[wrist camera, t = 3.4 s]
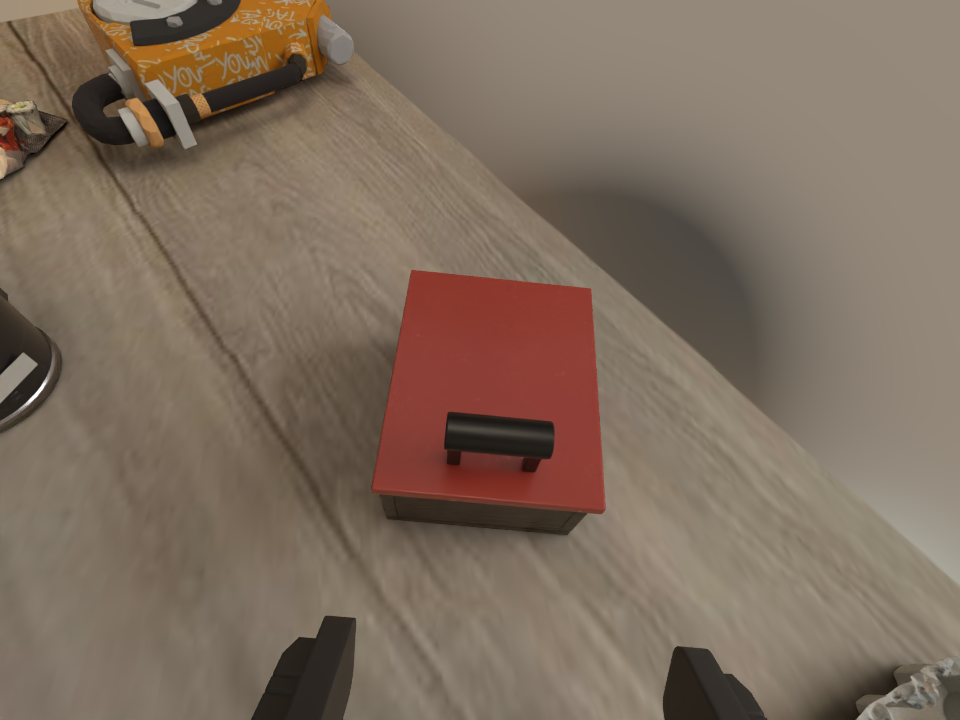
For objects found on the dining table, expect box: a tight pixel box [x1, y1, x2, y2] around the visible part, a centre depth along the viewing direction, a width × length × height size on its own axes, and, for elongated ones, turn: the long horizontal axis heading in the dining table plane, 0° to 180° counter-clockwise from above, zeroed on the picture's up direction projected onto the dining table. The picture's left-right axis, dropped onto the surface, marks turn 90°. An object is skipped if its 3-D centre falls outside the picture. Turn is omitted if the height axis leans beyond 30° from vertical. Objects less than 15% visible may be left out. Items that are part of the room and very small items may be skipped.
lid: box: [371, 270, 606, 514], centre depth 28 cm, size 15×12×5 cm
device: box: [72, 0, 354, 149], centre depth 54 cm, size 23×8×30 cm
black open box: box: [380, 494, 587, 535], centre depth 34 cm, size 14×12×8 cm
